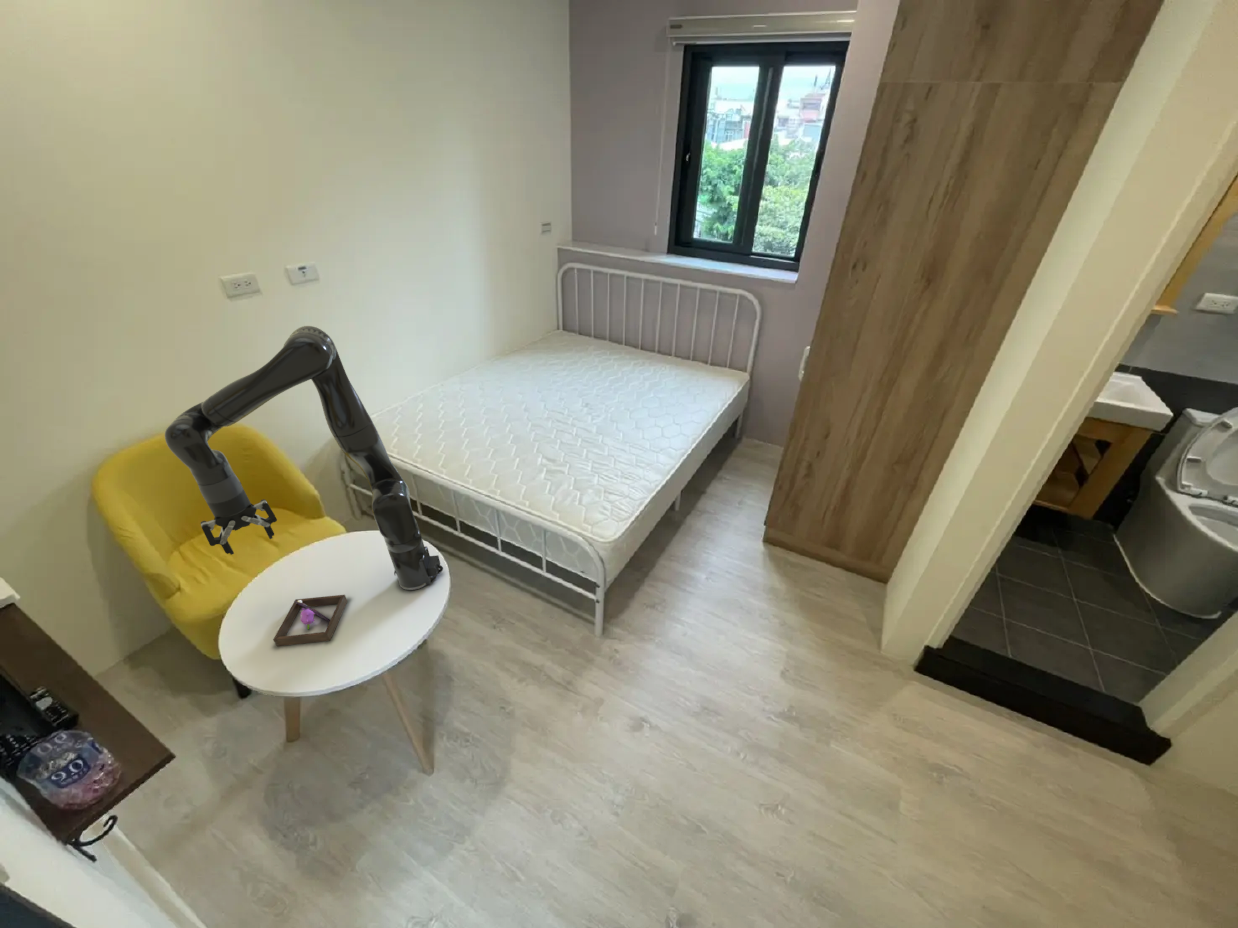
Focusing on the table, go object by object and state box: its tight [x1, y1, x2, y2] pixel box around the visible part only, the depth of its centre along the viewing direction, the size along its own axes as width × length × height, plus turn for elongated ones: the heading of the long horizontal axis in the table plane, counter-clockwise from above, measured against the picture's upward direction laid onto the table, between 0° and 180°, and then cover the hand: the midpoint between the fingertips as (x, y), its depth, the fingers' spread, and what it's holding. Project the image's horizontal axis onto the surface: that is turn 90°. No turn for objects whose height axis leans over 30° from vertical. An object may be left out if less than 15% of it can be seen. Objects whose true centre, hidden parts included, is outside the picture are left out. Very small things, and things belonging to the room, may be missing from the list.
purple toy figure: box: [293, 599, 331, 630], centre depth 134 cm, size 7×5×9 cm
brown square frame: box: [272, 594, 348, 647], centre depth 135 cm, size 13×14×3 cm
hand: (251, 544), depth 128 cm, fingers open, 8 cm apart
